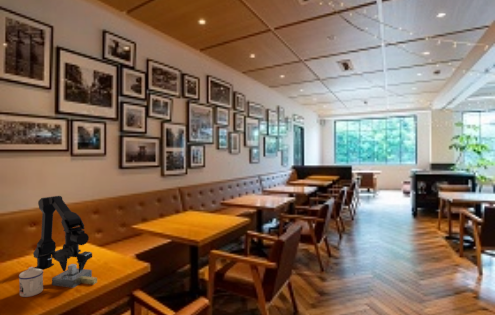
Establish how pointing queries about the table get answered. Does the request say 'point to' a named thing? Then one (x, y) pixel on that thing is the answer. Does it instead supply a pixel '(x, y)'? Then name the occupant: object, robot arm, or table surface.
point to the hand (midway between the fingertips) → (72, 271)
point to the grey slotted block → (74, 279)
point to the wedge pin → (72, 270)
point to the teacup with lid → (31, 282)
